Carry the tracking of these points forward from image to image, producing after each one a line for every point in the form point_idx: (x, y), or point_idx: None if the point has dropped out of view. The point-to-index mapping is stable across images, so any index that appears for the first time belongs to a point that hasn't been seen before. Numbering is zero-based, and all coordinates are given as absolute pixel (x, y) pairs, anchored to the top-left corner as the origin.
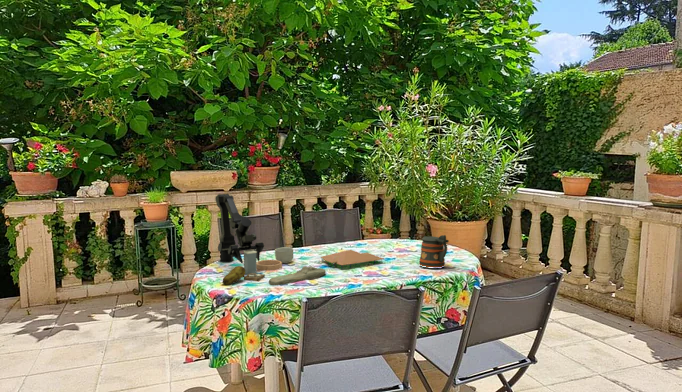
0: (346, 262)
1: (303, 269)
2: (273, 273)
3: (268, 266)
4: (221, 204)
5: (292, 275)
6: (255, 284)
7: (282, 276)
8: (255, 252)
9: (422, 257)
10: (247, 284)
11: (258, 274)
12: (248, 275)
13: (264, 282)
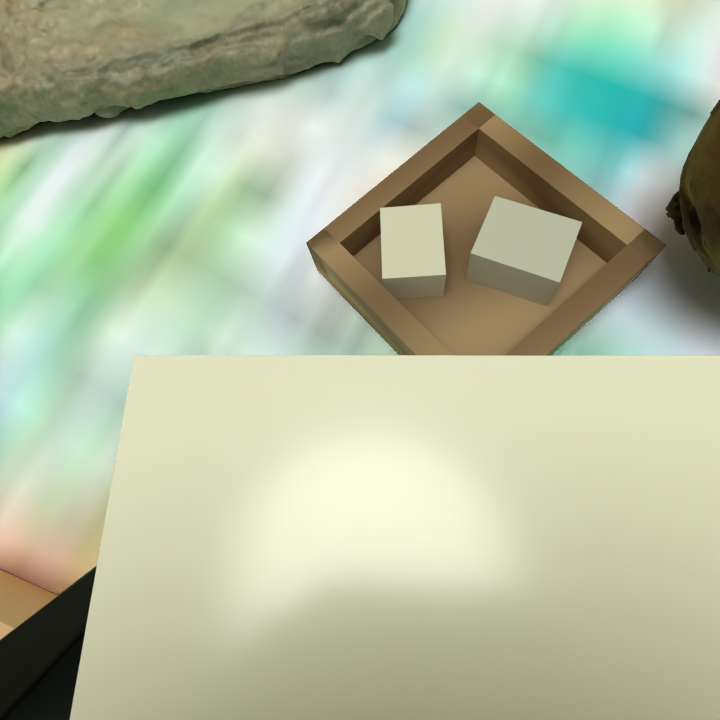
0: None
1: None
2: (87, 439)
3: (4, 618)
4: None
5: (68, 17)
6: (538, 87)
7: (186, 23)
8: (225, 366)
9: None
10: (633, 122)
11: (398, 260)
12: (554, 311)
13: (406, 115)
